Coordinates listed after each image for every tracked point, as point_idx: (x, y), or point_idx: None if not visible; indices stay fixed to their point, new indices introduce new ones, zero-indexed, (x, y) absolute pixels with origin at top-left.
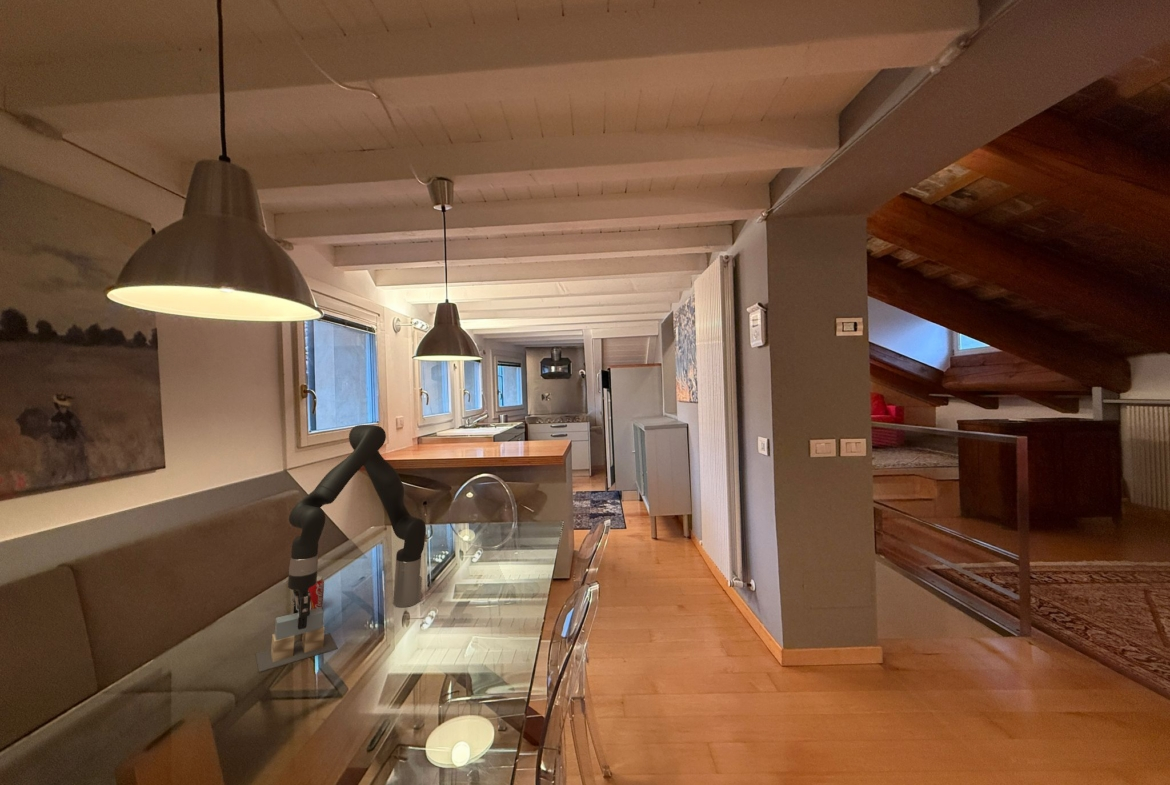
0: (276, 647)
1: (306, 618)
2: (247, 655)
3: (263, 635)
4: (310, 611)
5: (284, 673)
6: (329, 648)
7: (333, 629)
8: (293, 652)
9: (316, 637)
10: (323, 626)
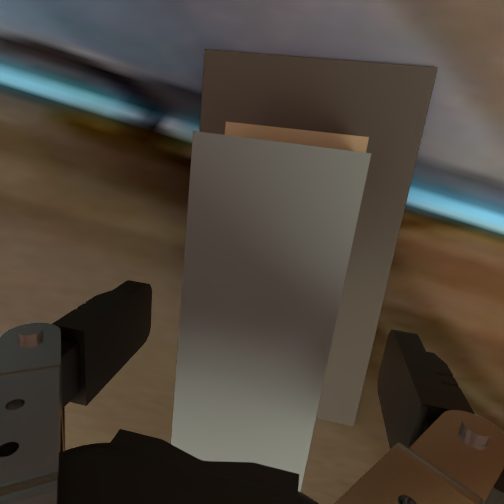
0: None
1: (440, 391)
2: (170, 404)
3: (31, 312)
4: (232, 268)
5: (453, 361)
6: (400, 114)
7: (163, 13)
8: None
9: None
10: (331, 135)
